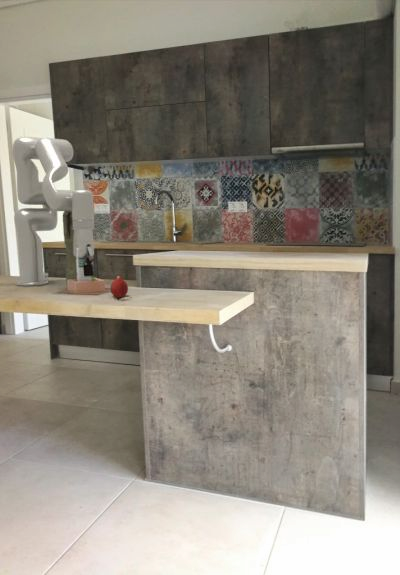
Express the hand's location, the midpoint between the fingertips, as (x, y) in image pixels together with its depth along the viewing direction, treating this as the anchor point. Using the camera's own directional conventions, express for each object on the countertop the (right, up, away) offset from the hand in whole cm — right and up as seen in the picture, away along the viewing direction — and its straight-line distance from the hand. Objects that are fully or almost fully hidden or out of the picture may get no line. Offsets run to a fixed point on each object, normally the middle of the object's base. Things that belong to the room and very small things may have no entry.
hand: (85, 274), depth 193 cm
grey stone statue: (-8, -5, +21) cm, 23 cm away
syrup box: (0, -5, +1) cm, 5 cm away
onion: (+14, -9, -12) cm, 21 cm away
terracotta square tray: (0, -6, +1) cm, 6 cm away
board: (0, -7, +1) cm, 7 cm away
